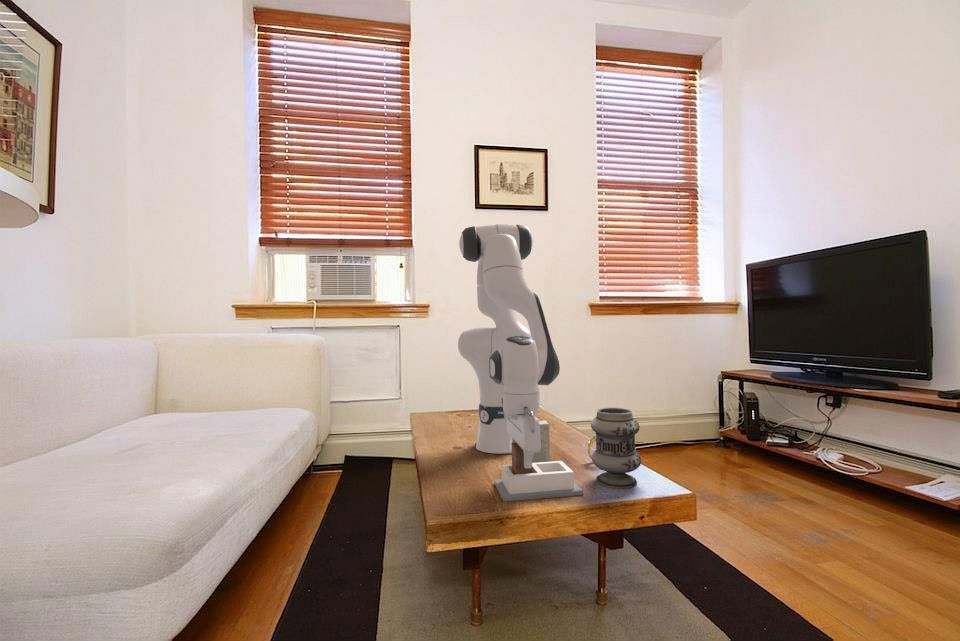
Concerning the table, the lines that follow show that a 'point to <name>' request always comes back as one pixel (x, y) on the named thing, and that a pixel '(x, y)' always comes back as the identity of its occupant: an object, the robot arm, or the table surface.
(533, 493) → the slot rack
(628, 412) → the apothecary jar
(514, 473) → the walnut peg
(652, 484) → the table surface
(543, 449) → the skincare box
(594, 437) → the ring
